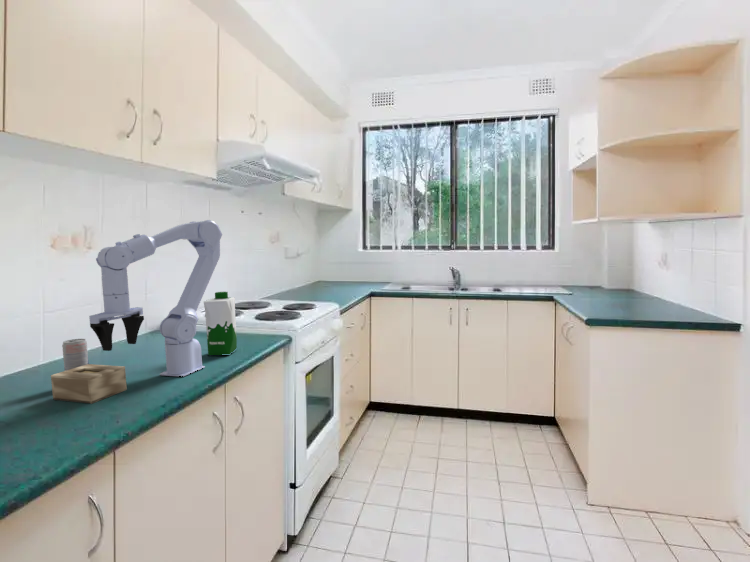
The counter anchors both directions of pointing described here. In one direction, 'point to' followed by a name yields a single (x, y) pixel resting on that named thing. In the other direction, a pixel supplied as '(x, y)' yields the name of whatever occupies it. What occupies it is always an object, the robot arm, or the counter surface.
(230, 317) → the milk carton
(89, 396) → the box
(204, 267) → the robot arm
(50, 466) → the counter surface
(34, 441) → the counter surface
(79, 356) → the energy drink
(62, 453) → the counter surface
